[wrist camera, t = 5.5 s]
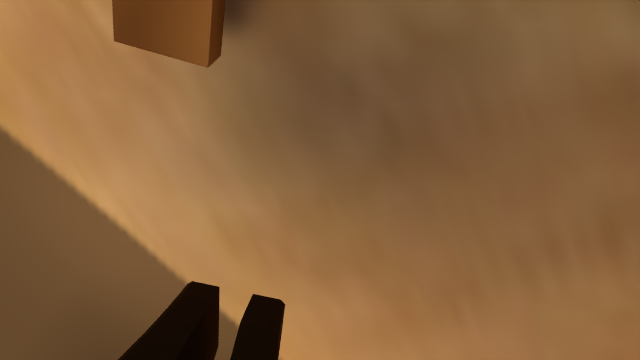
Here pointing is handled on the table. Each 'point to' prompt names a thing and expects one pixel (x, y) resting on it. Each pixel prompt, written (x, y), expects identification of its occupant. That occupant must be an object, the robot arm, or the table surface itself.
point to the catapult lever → (172, 27)
